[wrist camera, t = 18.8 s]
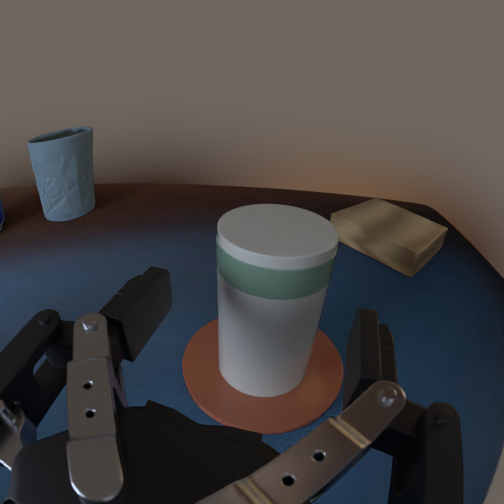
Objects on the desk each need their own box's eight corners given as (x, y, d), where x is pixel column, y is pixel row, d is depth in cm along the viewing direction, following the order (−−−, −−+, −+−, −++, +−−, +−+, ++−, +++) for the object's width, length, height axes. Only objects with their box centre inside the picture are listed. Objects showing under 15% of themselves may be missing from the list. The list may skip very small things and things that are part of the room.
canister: (305, 334, 23) (330, 208, 18) (309, 400, 18) (350, 263, 13) (224, 327, 23) (225, 199, 18) (210, 392, 18) (204, 251, 13)
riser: (441, 247, 38) (447, 228, 37) (410, 278, 31) (418, 254, 30) (372, 215, 46) (376, 197, 45) (327, 235, 39) (331, 213, 38)
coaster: (370, 369, 21) (372, 365, 20) (255, 467, 14) (256, 465, 14) (267, 297, 28) (268, 293, 27) (154, 352, 21) (153, 347, 21)
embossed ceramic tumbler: (104, 195, 48) (98, 124, 42) (93, 221, 39) (83, 134, 33) (50, 202, 45) (41, 133, 39) (30, 227, 37) (16, 146, 31)
